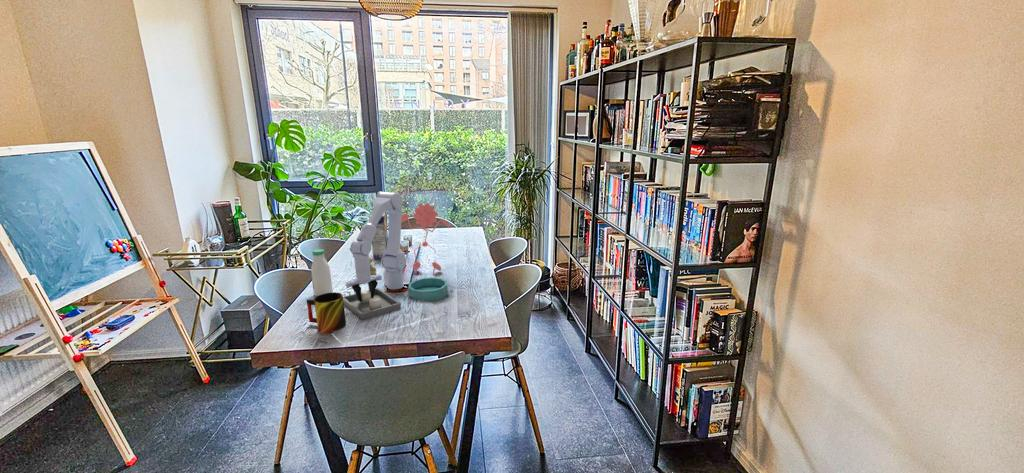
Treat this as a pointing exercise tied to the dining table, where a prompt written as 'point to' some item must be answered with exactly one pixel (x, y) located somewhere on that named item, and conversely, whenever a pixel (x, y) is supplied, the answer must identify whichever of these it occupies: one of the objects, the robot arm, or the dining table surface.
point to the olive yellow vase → (372, 268)
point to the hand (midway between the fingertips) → (365, 299)
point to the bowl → (428, 289)
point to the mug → (328, 312)
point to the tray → (364, 308)
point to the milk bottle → (320, 274)
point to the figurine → (425, 217)
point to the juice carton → (380, 238)
